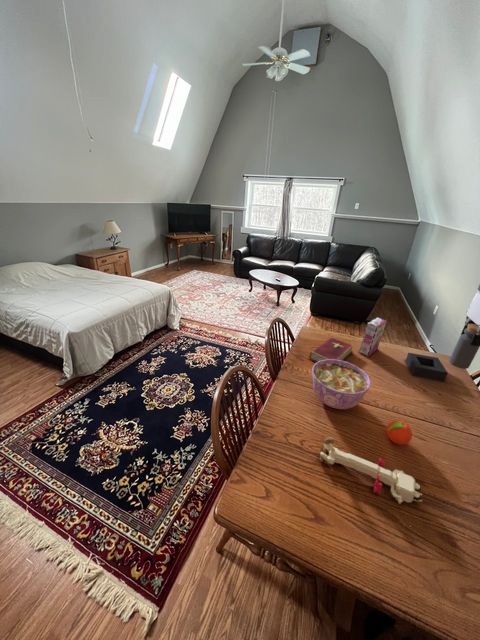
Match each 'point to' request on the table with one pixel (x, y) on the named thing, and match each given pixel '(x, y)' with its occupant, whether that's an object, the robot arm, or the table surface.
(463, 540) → the table surface
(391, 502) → the table surface
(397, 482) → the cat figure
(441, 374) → the holder
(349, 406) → the bowl of food
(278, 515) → the table surface
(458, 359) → the bottle
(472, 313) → the robot arm
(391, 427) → the red tomato
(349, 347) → the hardcover book
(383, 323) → the candy bar box
